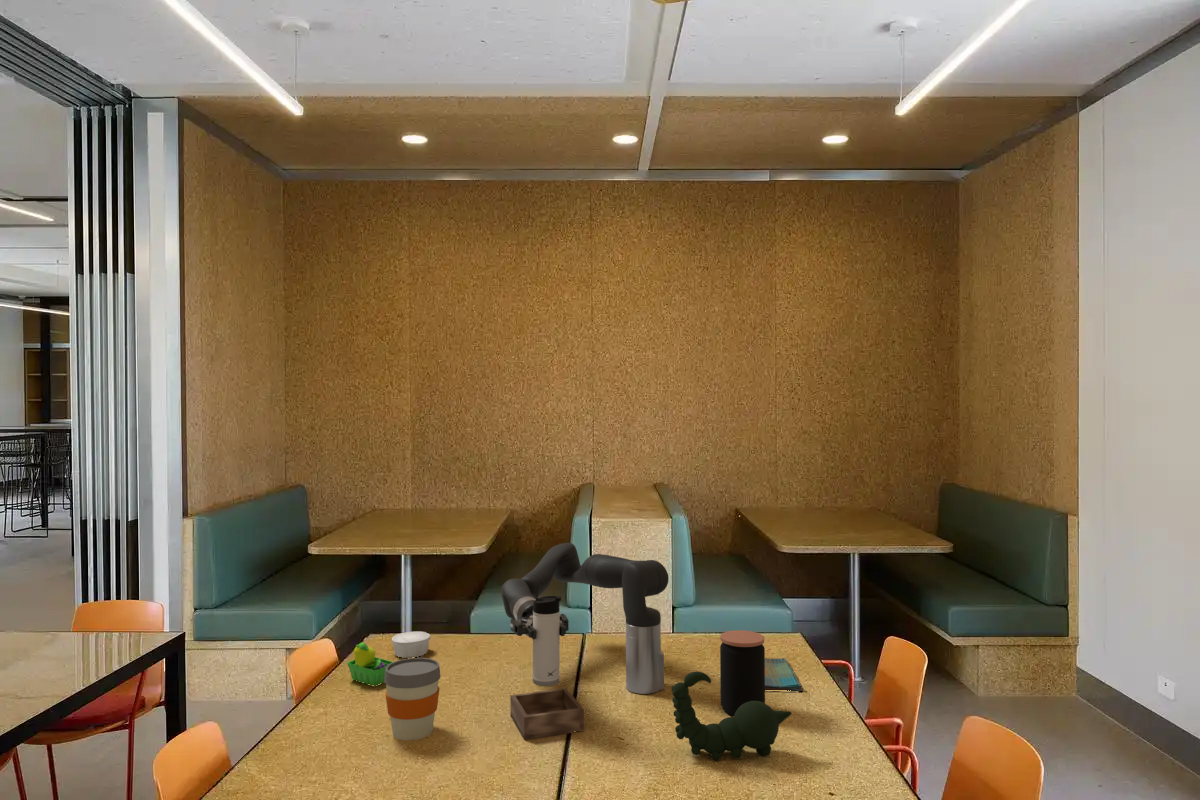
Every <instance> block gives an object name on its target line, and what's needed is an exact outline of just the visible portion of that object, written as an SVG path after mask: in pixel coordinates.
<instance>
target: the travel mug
mask: <svg viewBox="0 0 1200 800" xmlns="http://www.w3.org/2000/svg"><path fill="white" fill-rule="evenodd" d="M561 600H562V596H559V595H548V596H541V597H540V596H539V597H538V598H537V599H536V600H535V601H533V607H534V608H533V627H534V628H535V629H536V639H532V683H533V684H534V685H536V686H538V687H552V686H555V685H558V683H560V665H561V663H560V654H561V653H560V652H561V651H560V642H561V641H560V638H561V636H560V613H561V612H560V602H561Z"/></svg>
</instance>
